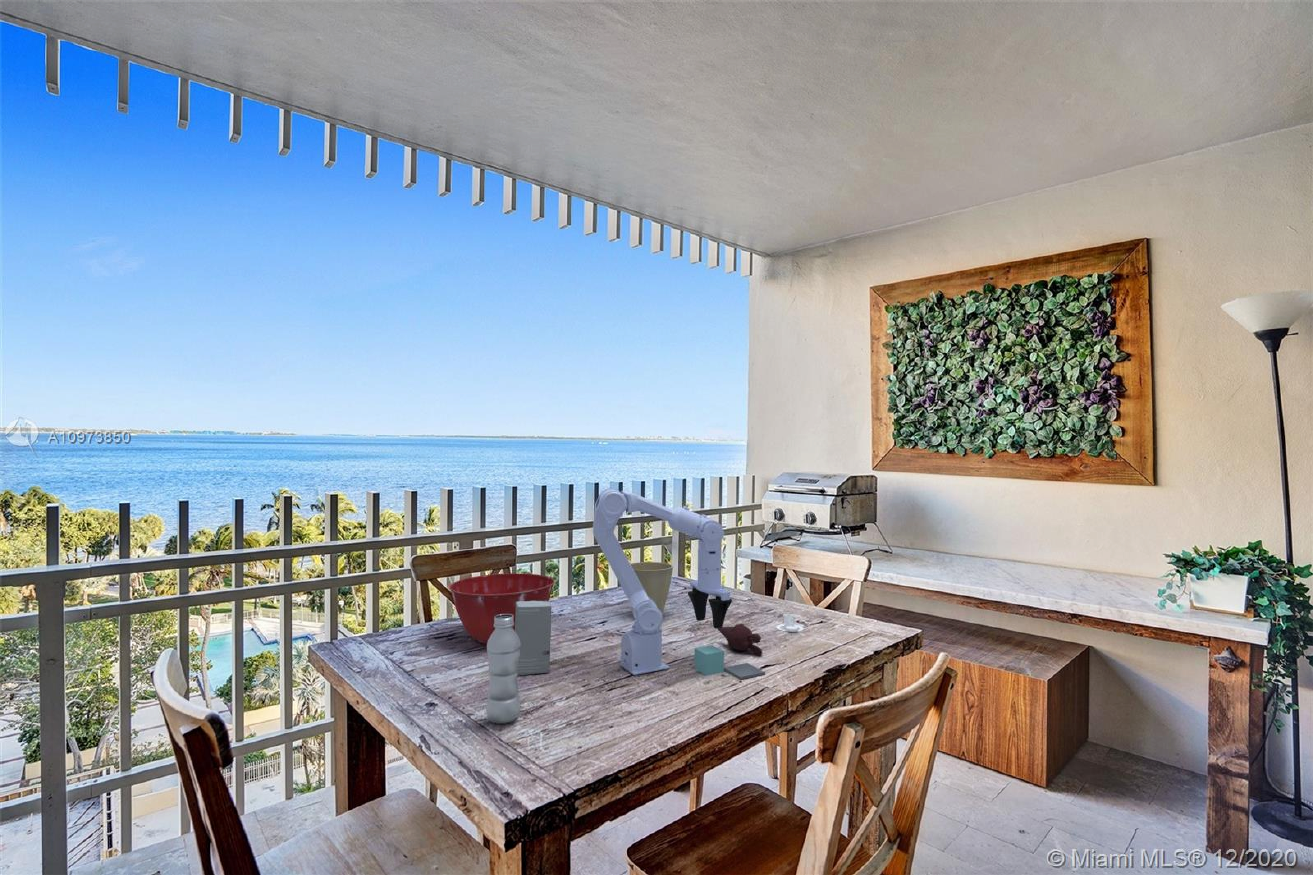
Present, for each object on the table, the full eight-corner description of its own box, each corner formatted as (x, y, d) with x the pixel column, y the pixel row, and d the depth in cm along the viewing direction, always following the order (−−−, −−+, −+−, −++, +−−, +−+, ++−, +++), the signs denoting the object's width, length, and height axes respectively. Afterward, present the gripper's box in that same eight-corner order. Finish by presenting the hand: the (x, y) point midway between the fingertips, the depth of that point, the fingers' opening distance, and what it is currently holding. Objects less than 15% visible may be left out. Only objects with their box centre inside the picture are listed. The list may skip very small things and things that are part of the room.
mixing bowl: (432, 636, 170) (432, 580, 171) (522, 618, 189) (523, 568, 190) (476, 662, 149) (477, 599, 150) (574, 639, 168) (574, 583, 169)
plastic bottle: (523, 712, 121) (524, 611, 121) (516, 728, 114) (517, 621, 115) (490, 713, 121) (491, 611, 121) (481, 728, 114) (482, 621, 114)
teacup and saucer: (797, 635, 173) (797, 621, 173) (771, 631, 177) (771, 617, 177) (807, 628, 181) (807, 614, 181) (781, 624, 185) (781, 610, 185)
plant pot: (681, 614, 193) (681, 564, 194) (656, 626, 181) (656, 572, 181) (642, 608, 201) (642, 559, 202) (615, 618, 189) (616, 567, 189)
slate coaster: (740, 679, 139) (740, 677, 139) (723, 670, 145) (723, 667, 145) (765, 674, 142) (765, 672, 142) (747, 665, 148) (747, 662, 148)
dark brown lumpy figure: (706, 622, 162) (749, 640, 151) (726, 610, 167) (769, 628, 156) (709, 645, 164) (752, 666, 152) (728, 633, 169) (771, 652, 157)
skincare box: (514, 676, 140) (515, 607, 140) (513, 666, 147) (514, 600, 147) (551, 673, 142) (552, 605, 143) (548, 663, 149) (549, 598, 150)
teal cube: (706, 676, 141) (706, 654, 141) (694, 669, 146) (694, 648, 146) (723, 672, 144) (723, 651, 144) (712, 665, 148) (712, 645, 148)
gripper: (740, 571, 145) (740, 629, 145) (706, 561, 158) (706, 614, 158) (716, 574, 142) (715, 633, 142) (683, 564, 155) (682, 618, 154)
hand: (709, 623), depth 149 cm, fingers open, 7 cm apart
